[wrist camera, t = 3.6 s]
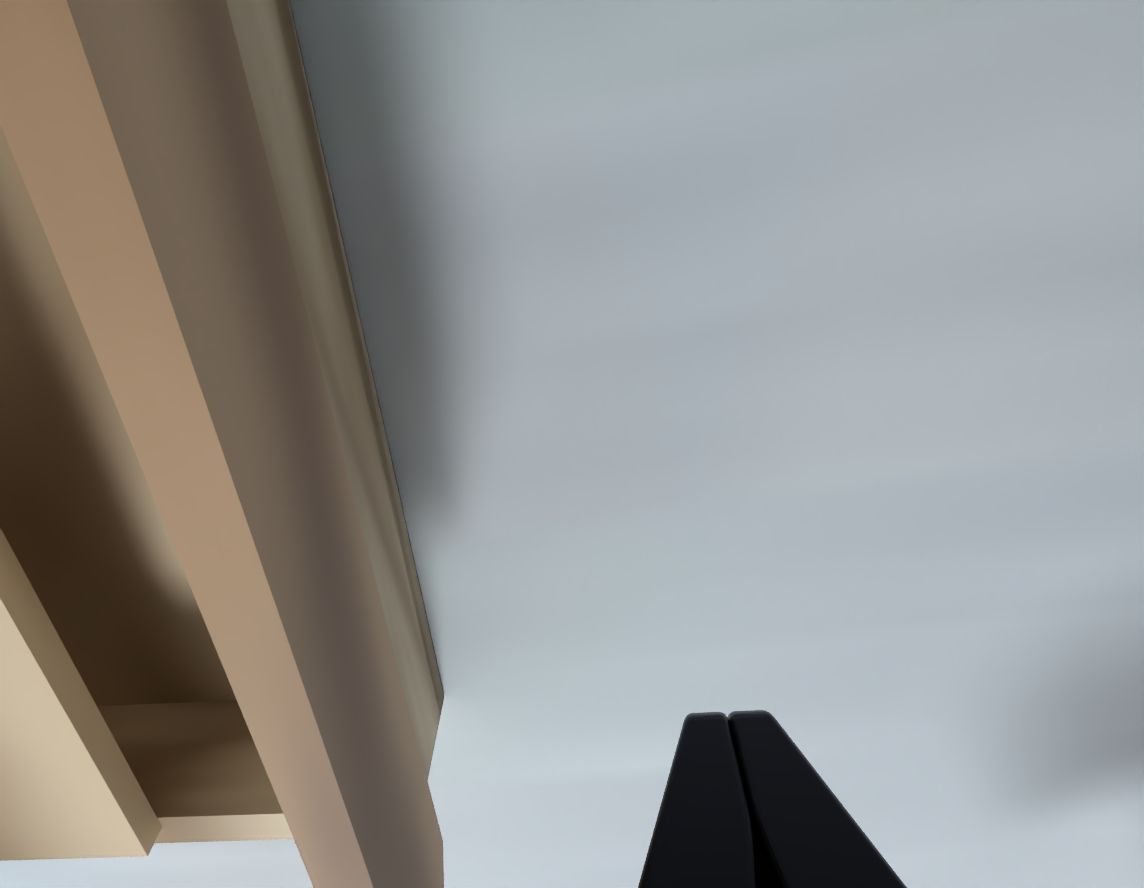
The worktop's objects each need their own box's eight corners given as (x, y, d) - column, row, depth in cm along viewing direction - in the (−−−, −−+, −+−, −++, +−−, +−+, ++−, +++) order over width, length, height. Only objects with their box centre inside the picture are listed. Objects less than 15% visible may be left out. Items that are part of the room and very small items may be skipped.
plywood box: (277, -54, 11) (133, -67, 8) (443, 696, 19) (410, 864, 15) (-388, 8, 12) (-809, 21, 8) (34, 713, 19) (-90, 878, 16)
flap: (160, -8, 8) (222, -13, 8) (411, 847, 15) (442, 841, 15) (-53, -7, 4) (60, -16, 4) (405, 1111, 11) (447, 1101, 11)
